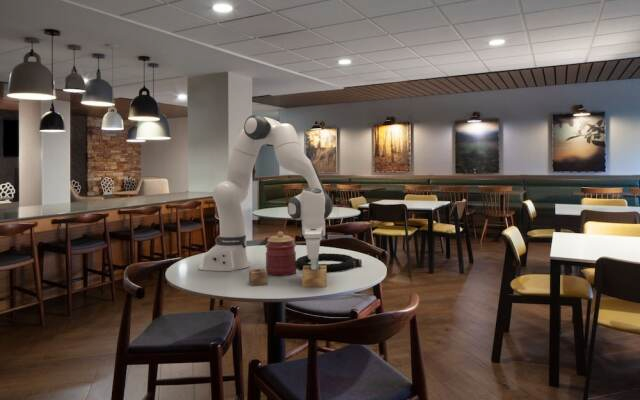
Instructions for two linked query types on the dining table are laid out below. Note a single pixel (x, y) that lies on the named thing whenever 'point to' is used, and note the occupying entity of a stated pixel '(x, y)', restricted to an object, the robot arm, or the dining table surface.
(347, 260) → the cable lock
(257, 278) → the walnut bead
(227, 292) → the dining table surface
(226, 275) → the dining table surface
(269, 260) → the canister
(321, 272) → the wooden square frame
